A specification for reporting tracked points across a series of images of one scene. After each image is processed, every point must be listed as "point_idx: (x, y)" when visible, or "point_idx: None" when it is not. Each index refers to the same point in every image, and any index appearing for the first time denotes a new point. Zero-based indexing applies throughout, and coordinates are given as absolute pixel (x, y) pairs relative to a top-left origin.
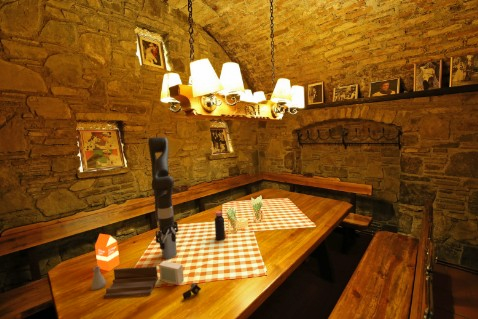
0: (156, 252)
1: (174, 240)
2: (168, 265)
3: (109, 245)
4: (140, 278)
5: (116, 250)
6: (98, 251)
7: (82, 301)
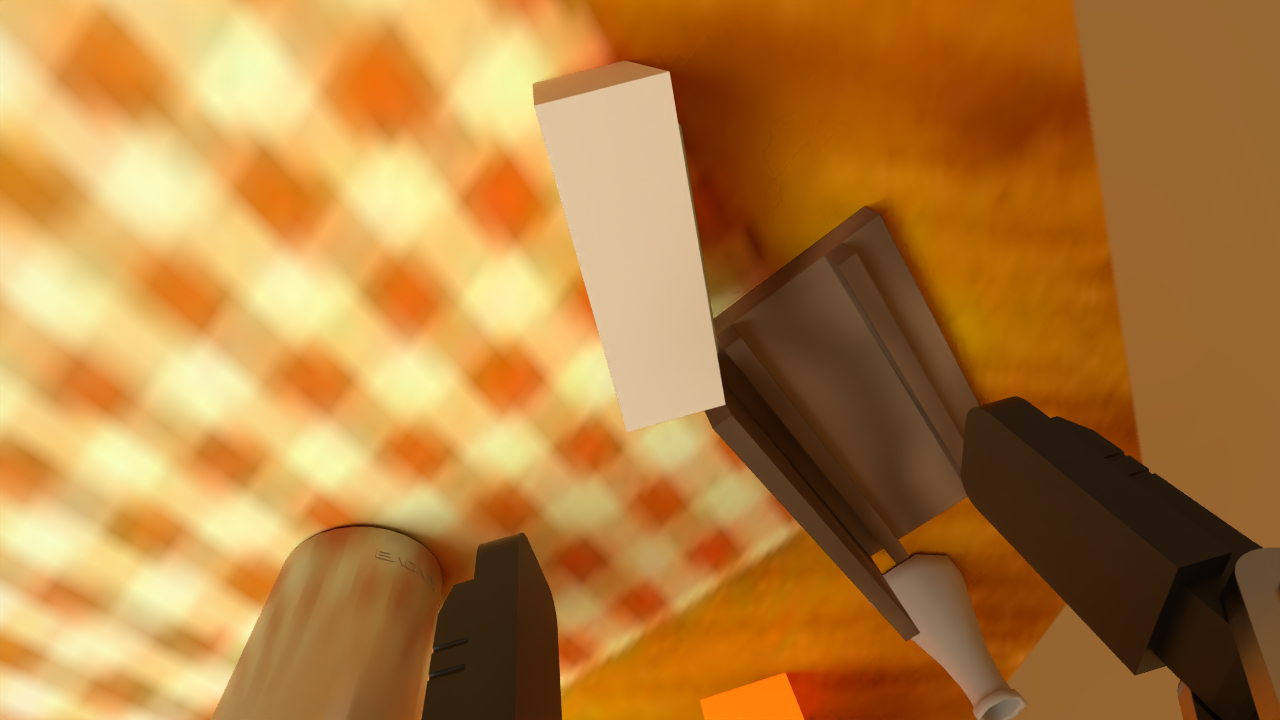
0: None
1: (526, 571)
2: (673, 288)
3: None
4: (811, 433)
5: None
6: None
7: None
